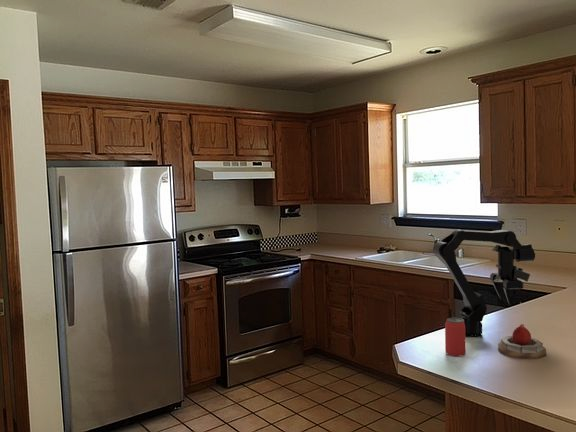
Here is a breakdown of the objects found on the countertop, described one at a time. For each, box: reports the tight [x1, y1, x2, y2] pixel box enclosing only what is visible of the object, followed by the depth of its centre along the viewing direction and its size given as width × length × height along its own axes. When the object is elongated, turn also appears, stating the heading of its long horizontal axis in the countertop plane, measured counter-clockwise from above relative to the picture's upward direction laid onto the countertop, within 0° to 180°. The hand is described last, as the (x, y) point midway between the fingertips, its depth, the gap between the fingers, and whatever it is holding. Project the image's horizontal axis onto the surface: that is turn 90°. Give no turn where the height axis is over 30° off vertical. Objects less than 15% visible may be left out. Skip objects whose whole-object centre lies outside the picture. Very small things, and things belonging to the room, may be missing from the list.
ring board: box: [497, 335, 547, 360], centre depth 169 cm, size 15×15×4 cm
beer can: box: [444, 317, 467, 358], centre depth 168 cm, size 7×7×12 cm
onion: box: [511, 323, 532, 346], centre depth 169 cm, size 6×6×8 cm
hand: (506, 302), depth 190 cm, fingers open, 9 cm apart
